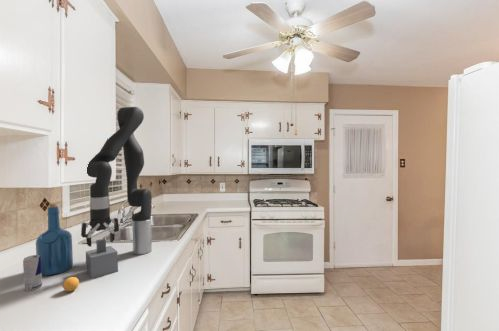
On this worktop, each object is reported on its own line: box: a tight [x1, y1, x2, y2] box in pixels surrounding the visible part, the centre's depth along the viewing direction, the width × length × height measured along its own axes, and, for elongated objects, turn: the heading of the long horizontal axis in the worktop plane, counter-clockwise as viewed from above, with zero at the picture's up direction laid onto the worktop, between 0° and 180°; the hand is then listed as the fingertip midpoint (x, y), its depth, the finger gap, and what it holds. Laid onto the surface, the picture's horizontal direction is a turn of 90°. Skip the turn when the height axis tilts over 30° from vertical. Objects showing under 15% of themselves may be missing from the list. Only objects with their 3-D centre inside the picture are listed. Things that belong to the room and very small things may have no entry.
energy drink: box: [22, 254, 43, 292], centre depth 103 cm, size 5×5×12 cm
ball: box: [62, 276, 80, 292], centre depth 101 cm, size 5×5×5 cm
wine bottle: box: [35, 203, 74, 276], centre depth 119 cm, size 14×13×30 cm
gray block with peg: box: [85, 238, 119, 280], centre depth 117 cm, size 10×10×14 cm
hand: (101, 243), depth 117 cm, fingers open, 8 cm apart
